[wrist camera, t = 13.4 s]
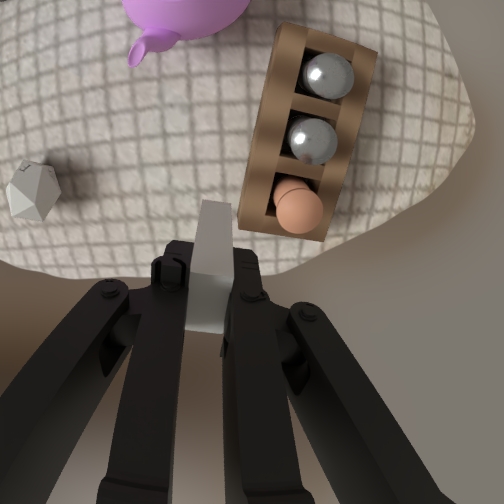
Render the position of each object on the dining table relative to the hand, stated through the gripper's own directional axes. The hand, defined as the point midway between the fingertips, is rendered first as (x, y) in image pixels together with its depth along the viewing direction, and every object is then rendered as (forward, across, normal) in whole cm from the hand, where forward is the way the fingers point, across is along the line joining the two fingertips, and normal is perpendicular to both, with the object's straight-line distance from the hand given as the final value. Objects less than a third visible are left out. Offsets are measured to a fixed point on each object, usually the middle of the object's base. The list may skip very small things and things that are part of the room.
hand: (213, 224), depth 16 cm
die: (+27, -27, -9) cm, 39 cm away
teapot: (+27, -8, +19) cm, 34 cm away
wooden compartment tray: (+26, +10, +3) cm, 28 cm away
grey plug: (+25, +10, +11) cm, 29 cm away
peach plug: (+24, +10, -5) cm, 26 cm away
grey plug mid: (+25, +10, +3) cm, 27 cm away
